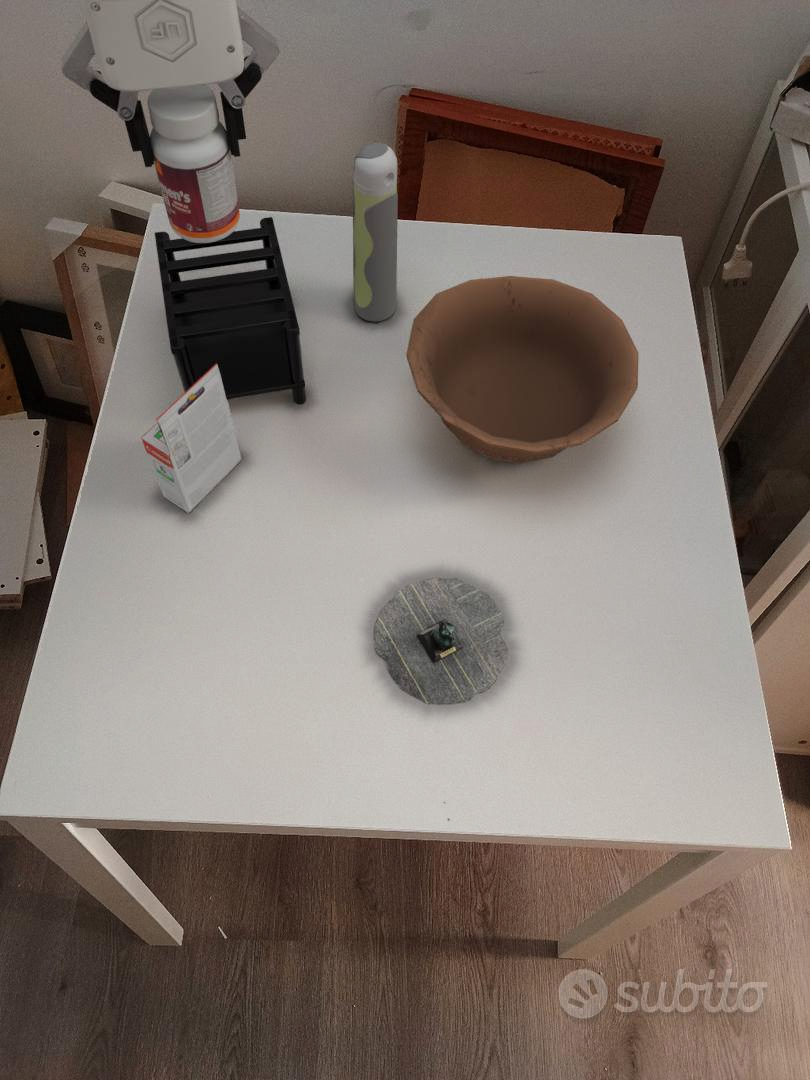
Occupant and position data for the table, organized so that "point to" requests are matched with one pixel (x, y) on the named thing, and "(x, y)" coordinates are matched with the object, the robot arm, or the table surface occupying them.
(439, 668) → the sculpture
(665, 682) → the table surface
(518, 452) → the bowl
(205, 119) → the pill bottle
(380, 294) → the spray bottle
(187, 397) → the ink box
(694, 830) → the table surface
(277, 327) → the rack
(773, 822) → the table surface
